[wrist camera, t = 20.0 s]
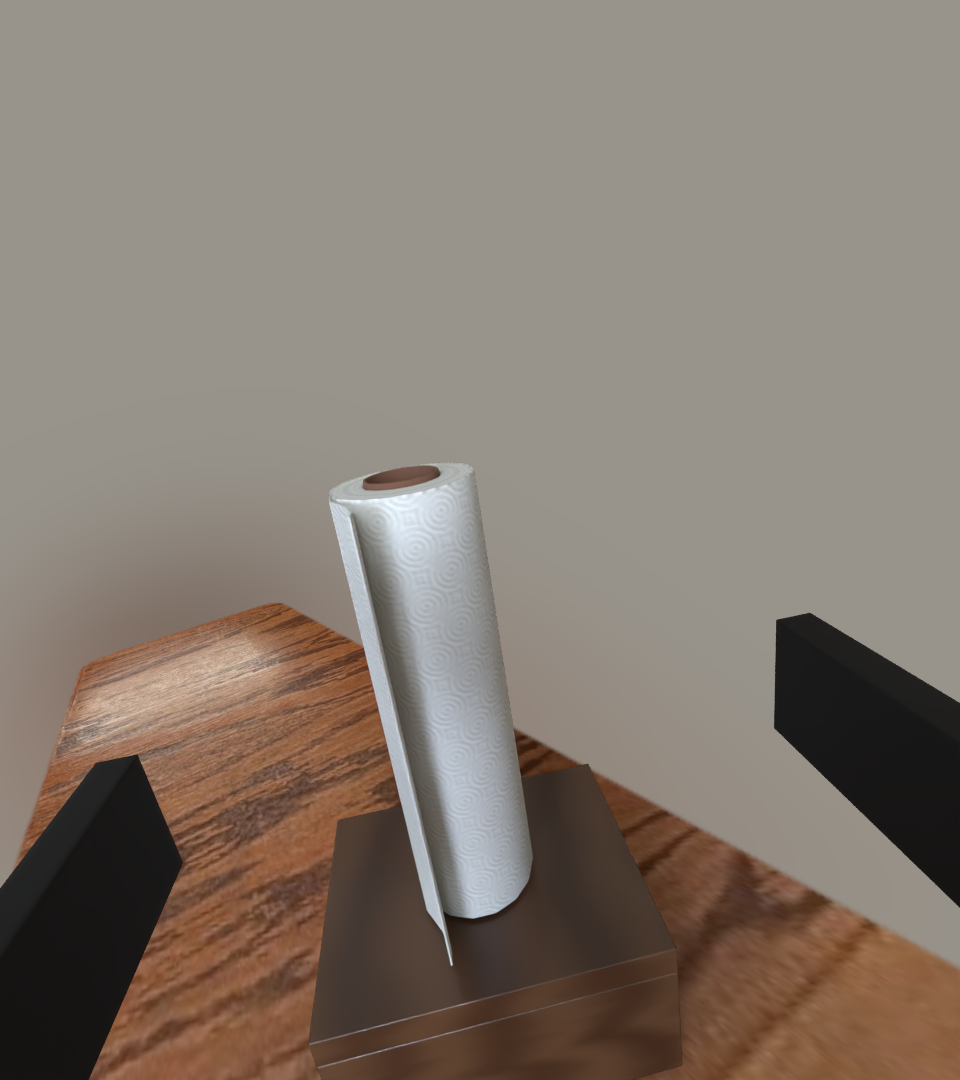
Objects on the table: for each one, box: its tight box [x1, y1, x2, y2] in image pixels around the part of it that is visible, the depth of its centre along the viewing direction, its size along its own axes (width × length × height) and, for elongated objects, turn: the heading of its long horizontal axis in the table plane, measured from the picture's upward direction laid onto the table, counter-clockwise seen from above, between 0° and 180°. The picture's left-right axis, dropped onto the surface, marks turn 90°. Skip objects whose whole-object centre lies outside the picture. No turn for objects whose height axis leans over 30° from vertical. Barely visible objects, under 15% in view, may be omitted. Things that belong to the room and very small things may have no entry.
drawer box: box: [308, 764, 682, 1080], centre depth 30 cm, size 16×12×8 cm
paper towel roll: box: [329, 463, 533, 966], centre depth 26 cm, size 7×6×21 cm
